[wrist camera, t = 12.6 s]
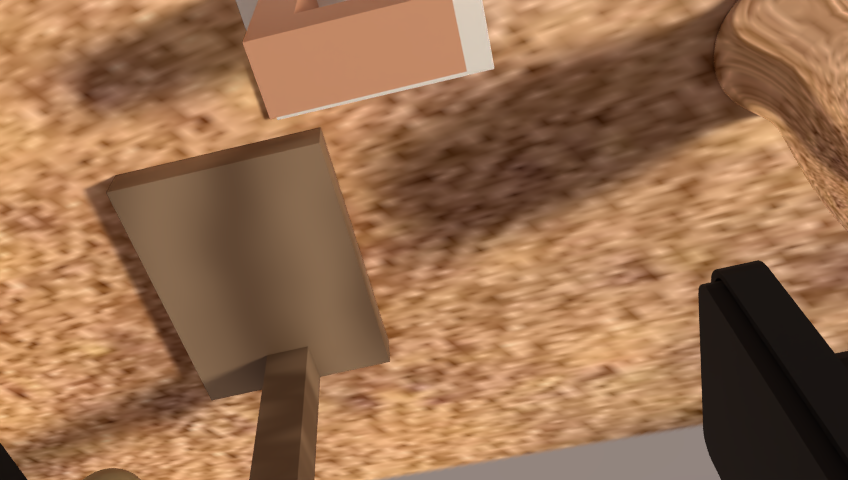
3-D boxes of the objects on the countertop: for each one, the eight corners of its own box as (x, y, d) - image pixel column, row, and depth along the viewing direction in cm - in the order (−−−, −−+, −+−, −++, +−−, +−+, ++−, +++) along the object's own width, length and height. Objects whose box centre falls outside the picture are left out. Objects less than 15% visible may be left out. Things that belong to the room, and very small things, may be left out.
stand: (317, 116, 33) (269, 584, 15) (388, 341, 39) (416, 853, 21) (110, 165, 33) (-183, 676, 15) (216, 379, 40) (100, 910, 22)
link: (428, -69, 29) (450, -9, 22) (441, -4, 30) (466, 71, 23) (268, -29, 29) (242, 42, 22) (289, 34, 30) (270, 118, 23)
